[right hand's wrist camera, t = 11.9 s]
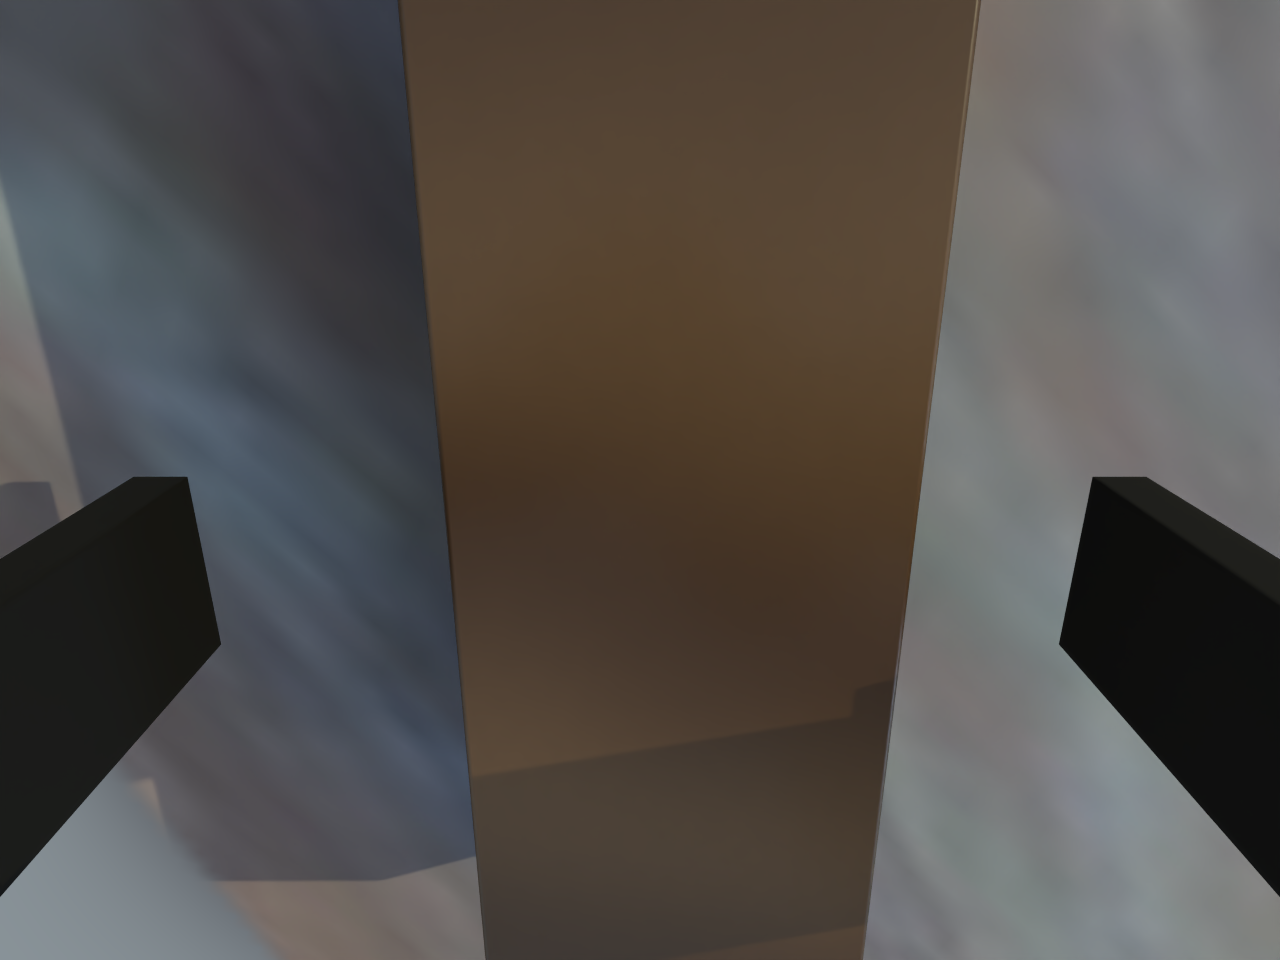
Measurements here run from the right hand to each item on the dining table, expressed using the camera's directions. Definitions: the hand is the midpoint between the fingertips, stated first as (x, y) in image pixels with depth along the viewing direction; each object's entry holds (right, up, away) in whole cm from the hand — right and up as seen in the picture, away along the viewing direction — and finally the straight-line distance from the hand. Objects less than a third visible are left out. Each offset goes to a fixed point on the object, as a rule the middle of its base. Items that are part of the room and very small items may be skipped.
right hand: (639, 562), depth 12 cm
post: (0, +21, -3) cm, 21 cm away
